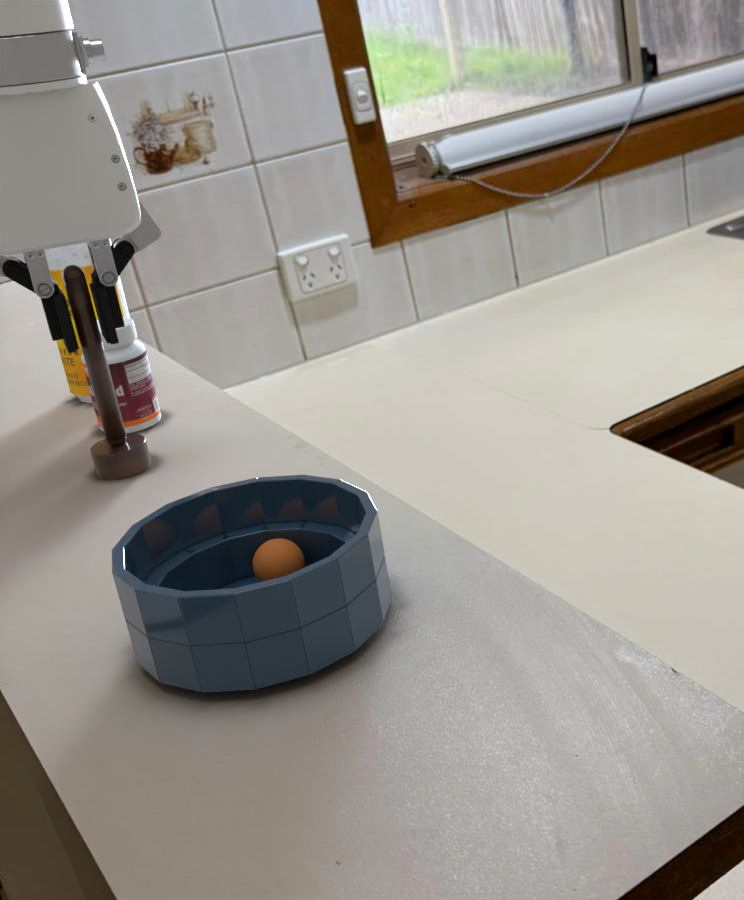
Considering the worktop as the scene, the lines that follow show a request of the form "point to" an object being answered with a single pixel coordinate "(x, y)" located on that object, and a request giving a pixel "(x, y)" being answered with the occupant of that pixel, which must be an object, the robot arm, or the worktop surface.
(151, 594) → the bowl
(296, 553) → the orange ball
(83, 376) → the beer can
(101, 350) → the wooden tamper
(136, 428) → the pill bottle
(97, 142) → the robot arm
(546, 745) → the worktop surface
